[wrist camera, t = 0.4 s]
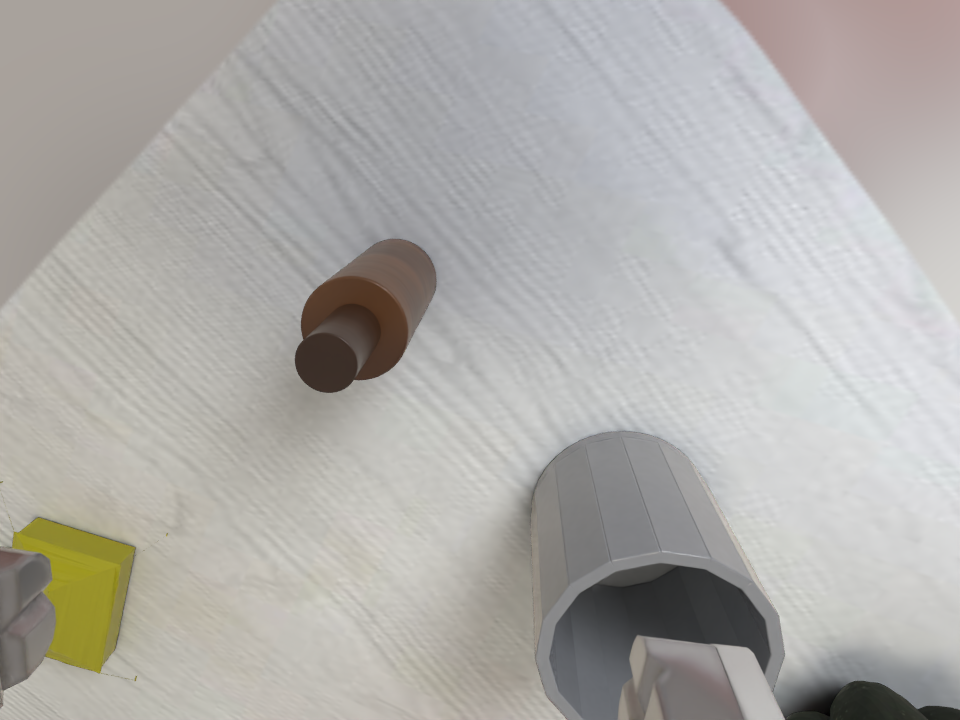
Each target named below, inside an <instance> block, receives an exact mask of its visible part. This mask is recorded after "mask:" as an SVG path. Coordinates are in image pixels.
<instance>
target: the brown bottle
mask: <svg viewBox="0 0 960 720" xmlns="http://www.w3.org/2000/svg"><path fill="white" fill-rule="evenodd" d="M435 289H436V272H435V268H434V265H433V263H432V261H431V259H430V258H429V256H428V255H427V254H426V253H425V252H424V251H423V250H422V249H421V248H420V247H418V246H417V245H415V244H413V243H411V242H409V241H406V240H401V239H388V240H384V241H381V242H378V243H376V244H374V245H373V246H372V247H370V248H369V249H368V250H366V251H365V252H364V253H362V254H361V255H360V256H358V257H357V258H356V259H354V260H353V261H352V262H350V263H349V264H348V265H347V266H345V267H344V268H343V269H341V270H340V271H339V272H337V273H336V274H335V275H333V276H332V277H331V278H329V279H328V280H327V281H326V282H324V283H323V284H322V285H320V286H319V287H318V288H317V289H316V290H315V291H314V292H313V293H312V294H311V295H310V297H309V298H308V300H307V302H306V304H305V306H304V309H303V312H302V318H301V331H302V336H303V341H302V342H301V343H300V345H299V346H298V348H297V351H296V354H295V365H296V369H297V372H298V374H299V376H300V377H301V379H302V380H303V381H304V382H305V383H306V384H307V385H308V386H309V387H311V388H313V389H315V390H317V391H320V392H326V393H333V392H338V391H341V390H343V389H345V388H346V387H348V386H349V385H350V384H351V383H352V382H353V380H367V379H372V378H375V377H378V376H380V375H383V374H384V373H386V372H388V371H389V370H390V369H392V368H393V367H394V366H395V365H396V364H397V363H398V361H399V360H400V358H401V357H402V355H403V353H404V352H405V350H406V348H407V346H408V344H409V342H410V340H411V338H412V336H413V334H414V332H415V330H416V328H417V326H418V325H419V323H420V321H421V319H422V317H423V315H424V313H425V311H426V309H427V307H428V305H429V303H430V301H431V300H432V297H433V295H434V293H435Z"/></svg>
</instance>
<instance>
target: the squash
mask: <svg viewBox="0 0 960 720" xmlns="http://www.w3.org/2000/svg"><path fill="white" fill-rule="evenodd" d="M786 720H960V710H958V709H954V708H950V707H942V706H926V707H923V708H920V709H916V708H915V707H914V706H913V705H912V704H911V703H909V702H908V701H907V700H906V699H905V698H903V697H902V696H900V695H899V694H897V693H896V692H894V691H892V690H891V689H889V688H888V687H886V686H884V685H882V684H879V683H874V682H866V681H854V682H851V683H849V684H847V685H846V686H844V687H843V688H842V690H841V691H840V692H839V693H838V694H837V696H836V697H835V699H834V701H833V703H832V705H831V707H830V717H829V716H827V715H825V714H822V713H819V712H816V711H803V712H798V713H794V714H792V715H790V716H789V717H787V718H786Z"/></svg>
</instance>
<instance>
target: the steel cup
mask: <svg viewBox="0 0 960 720" xmlns="http://www.w3.org/2000/svg"><path fill="white" fill-rule="evenodd" d="M531 511H532V514H531V520H530V529H531V557H532V585H533V613H534V640H535V660H536V664H537V667H538V670H539V674H540V677H541V681H542V684H543V687H544V691H545V694H546V696H547V697H548V699H549V700H550V701H551V702H552V703H553V704H554V705H555V706H556V707H557V709H558V710H559V711H560V712H561V713H562V714H563V715H564V716H565V718H566V719H567V720H618V709H619V702H620V697H621V692H622V687H623V685H624V684H625V683H626V682H627V681H629V680H630V679H631V678H632V677H633V675H632V670H631V665H630V661H629V657H630V653H631V649H632V645H633V642H634V640H635V638H636V637H637V635H641V636H649V637H656V638H664V639H672V640H679V641H687V642H694V643H702V644H708V645H710V644H720V645H729V646H738V647H747V648H748V649H750V650H751V651H752V652H753V653H754V655H755V657H756V659H757V661H758V663H759V666H760V668H761V670H762V672H763V674H764V676H765V678H766V680H767V682H768V684H769V687H770V689H771V691H772V692H773V689H774V686H775V683H776V680H777V677H778V674H779V671H780V668H781V665H782V662H783V660H784V657H785V655H784V654H785V650H784V644H783V638H782V632H781V626H780V619H779V615H778V613H777V611H776V609H775V607H774V605H773V604H772V602H771V600H770V598H769V596H768V594H767V593H766V591H765V589H764V587H763V585H762V583H761V582H760V580H759V578H758V576H757V574H756V573H755V571H754V569H753V567H752V565H751V563H750V562H749V560H748V558H747V556H746V554H745V552H744V551H743V549H742V547H741V545H740V543H739V542H738V540H737V538H736V536H735V534H734V532H733V531H732V529H731V527H730V525H729V523H728V521H727V520H726V518H725V516H724V514H723V512H722V510H721V509H720V507H719V505H718V503H717V501H716V500H715V498H714V496H713V494H712V492H711V490H710V489H709V487H708V485H707V484H706V482H705V481H704V480H703V478H702V477H701V475H700V473H699V472H698V470H697V469H696V467H695V465H694V464H693V463H692V462H691V461H690V460H689V458H688V457H687V456H686V455H685V454H683V453H682V452H681V451H680V450H679V449H677V448H676V447H674V446H673V445H671V444H670V443H668V442H666V441H664V440H661V439H659V438H656V437H654V436H651V435H647V434H642V433H637V432H626V431H621V432H608V433H602V434H598V435H594V436H591V437H588V438H586V439H583V440H581V441H578V442H577V443H575V444H573V445H571V446H570V447H568V448H567V449H565V450H564V451H563V452H561V453H560V454H559V455H558V456H557V457H556V458H555V459H554V460H553V461H552V462H551V463H550V464H549V465H548V466H547V468H546V469H545V470H544V472H543V474H542V475H541V477H540V479H539V481H538V483H537V485H536V488H535V491H534V495H533V499H532V508H531Z"/></svg>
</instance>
